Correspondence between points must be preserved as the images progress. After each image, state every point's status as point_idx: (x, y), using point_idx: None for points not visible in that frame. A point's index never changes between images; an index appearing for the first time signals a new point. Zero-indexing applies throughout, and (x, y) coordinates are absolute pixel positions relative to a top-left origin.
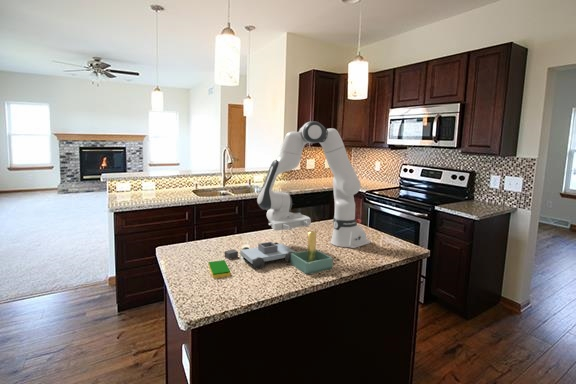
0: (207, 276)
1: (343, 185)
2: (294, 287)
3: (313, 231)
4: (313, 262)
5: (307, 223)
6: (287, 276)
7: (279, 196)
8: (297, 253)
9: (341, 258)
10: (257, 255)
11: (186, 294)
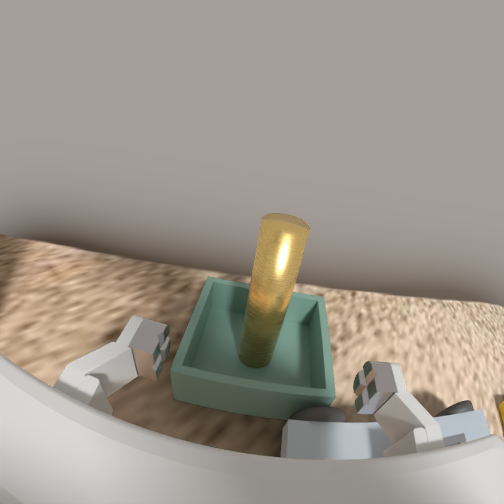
0: None
1: None
2: (370, 299)
3: (272, 222)
4: (294, 293)
5: (147, 319)
6: (370, 345)
7: None
8: (298, 388)
9: (93, 332)
10: (466, 440)
11: None
